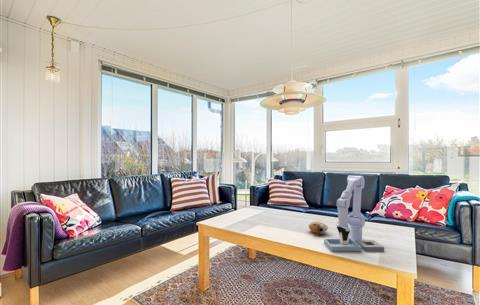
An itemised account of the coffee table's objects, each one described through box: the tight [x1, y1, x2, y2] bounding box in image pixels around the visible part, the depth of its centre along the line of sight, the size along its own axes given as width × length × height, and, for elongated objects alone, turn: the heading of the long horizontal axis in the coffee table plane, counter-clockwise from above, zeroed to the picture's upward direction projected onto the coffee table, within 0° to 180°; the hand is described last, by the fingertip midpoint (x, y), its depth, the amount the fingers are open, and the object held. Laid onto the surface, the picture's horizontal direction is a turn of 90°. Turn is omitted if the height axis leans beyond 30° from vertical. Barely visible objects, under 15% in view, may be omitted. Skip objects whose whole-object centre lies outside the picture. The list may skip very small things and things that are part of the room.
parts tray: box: [323, 238, 363, 253], centre depth 151 cm, size 14×18×3 cm
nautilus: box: [308, 221, 329, 237], centre depth 179 cm, size 8×22×15 cm
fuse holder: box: [355, 239, 385, 252], centre depth 151 cm, size 12×12×2 cm
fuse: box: [339, 232, 350, 245], centre depth 151 cm, size 4×4×7 cm
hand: (343, 239), depth 151 cm, fingers closed on fuse, 4 cm apart
